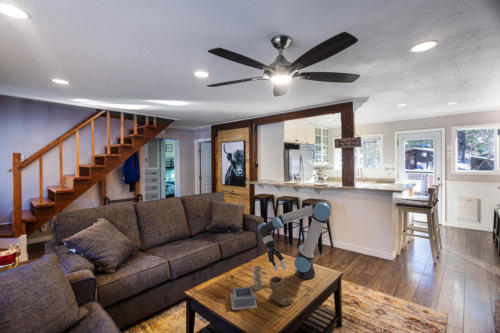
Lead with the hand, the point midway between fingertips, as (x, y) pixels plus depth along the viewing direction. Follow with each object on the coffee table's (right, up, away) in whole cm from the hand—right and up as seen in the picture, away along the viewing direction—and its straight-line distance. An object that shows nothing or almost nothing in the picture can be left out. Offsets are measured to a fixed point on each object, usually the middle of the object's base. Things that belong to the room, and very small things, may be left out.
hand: (281, 269), depth 176 cm
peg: (-17, -13, -1) cm, 22 cm away
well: (-27, -14, -17) cm, 35 cm away
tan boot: (-3, -14, -16) cm, 22 cm away
